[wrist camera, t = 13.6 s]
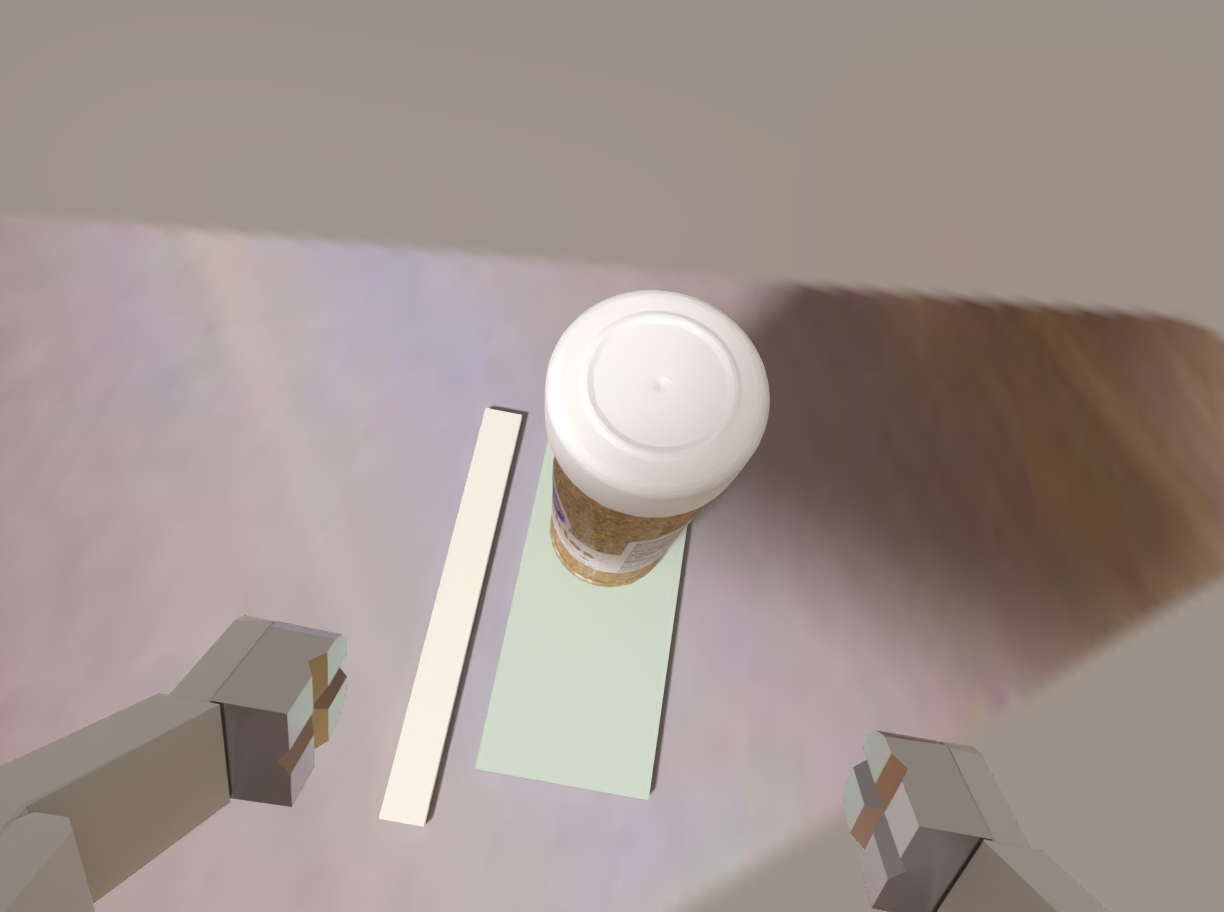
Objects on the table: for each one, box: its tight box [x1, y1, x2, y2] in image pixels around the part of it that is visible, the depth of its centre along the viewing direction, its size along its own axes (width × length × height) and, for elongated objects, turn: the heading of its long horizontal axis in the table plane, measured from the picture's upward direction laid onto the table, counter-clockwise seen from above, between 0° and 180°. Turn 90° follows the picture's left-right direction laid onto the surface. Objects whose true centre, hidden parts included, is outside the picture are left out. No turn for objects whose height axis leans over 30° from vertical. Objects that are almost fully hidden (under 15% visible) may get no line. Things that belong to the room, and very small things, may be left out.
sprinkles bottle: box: [545, 290, 770, 587], centre depth 19 cm, size 5×5×14 cm
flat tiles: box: [379, 408, 687, 827], centre depth 25 cm, size 9×15×1 cm, turn 170°
